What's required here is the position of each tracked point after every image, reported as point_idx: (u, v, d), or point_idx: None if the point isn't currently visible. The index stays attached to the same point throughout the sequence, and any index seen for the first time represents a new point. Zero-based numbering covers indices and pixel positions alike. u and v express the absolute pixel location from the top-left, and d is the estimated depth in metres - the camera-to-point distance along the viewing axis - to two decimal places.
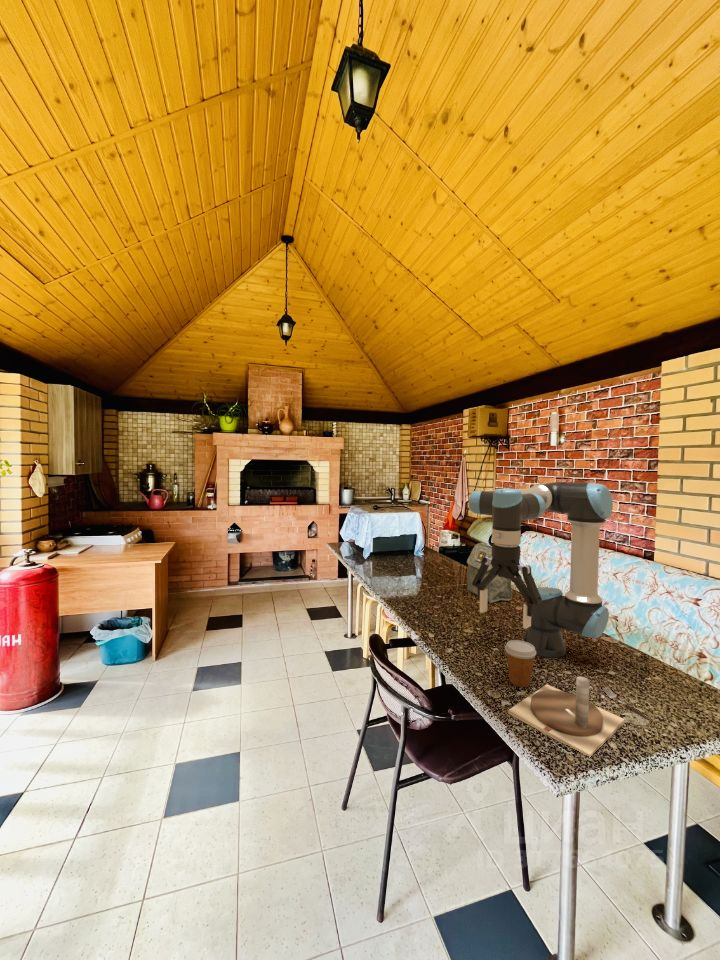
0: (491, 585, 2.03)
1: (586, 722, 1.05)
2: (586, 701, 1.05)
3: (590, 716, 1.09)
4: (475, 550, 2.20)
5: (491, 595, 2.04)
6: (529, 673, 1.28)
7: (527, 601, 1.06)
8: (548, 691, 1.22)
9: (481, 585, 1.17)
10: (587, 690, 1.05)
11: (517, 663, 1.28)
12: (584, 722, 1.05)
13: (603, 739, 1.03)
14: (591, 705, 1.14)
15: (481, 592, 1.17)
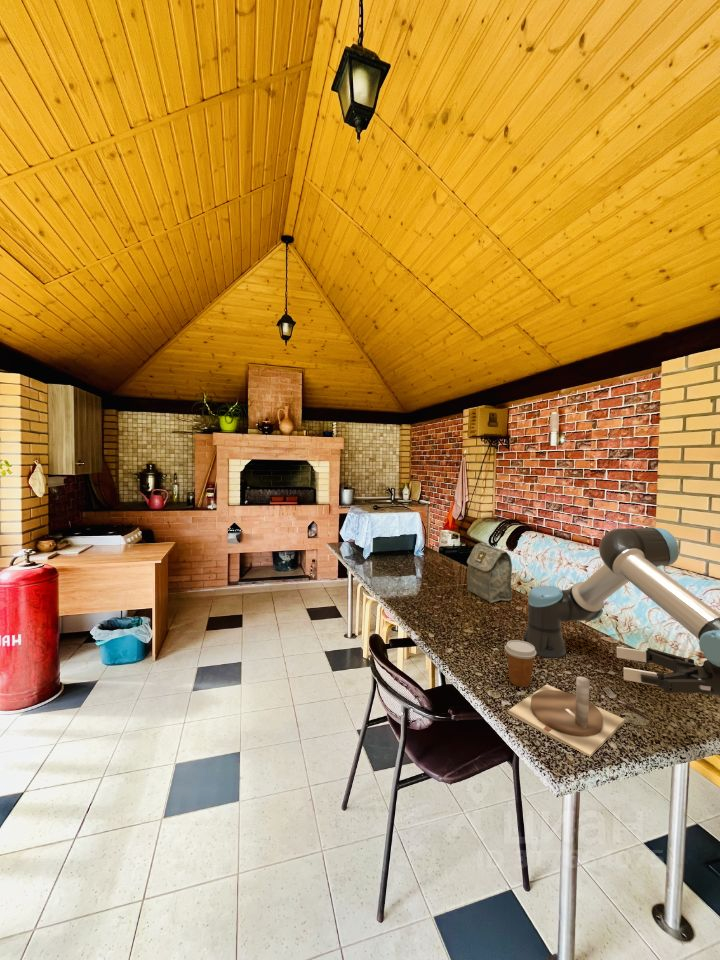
0: (491, 585, 2.03)
1: (586, 722, 1.05)
2: (586, 701, 1.05)
3: (590, 716, 1.09)
4: (475, 550, 2.20)
5: (491, 595, 2.04)
6: (529, 673, 1.28)
7: None
8: (548, 691, 1.22)
9: None
10: (587, 690, 1.05)
11: (517, 663, 1.28)
12: (584, 722, 1.05)
13: (603, 739, 1.03)
14: (591, 705, 1.14)
15: None
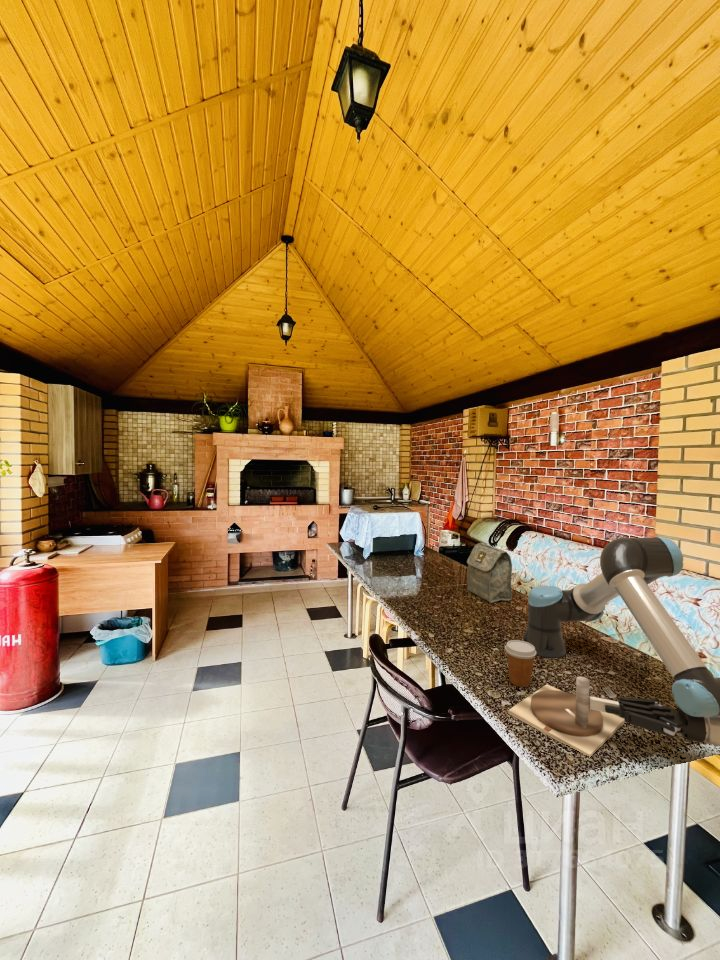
0: (491, 585, 2.03)
1: (586, 722, 1.05)
2: (586, 701, 1.05)
3: (590, 716, 1.09)
4: (475, 550, 2.20)
5: (491, 595, 2.04)
6: (529, 673, 1.28)
7: None
8: (548, 691, 1.22)
9: None
10: (587, 690, 1.05)
11: (517, 663, 1.28)
12: (584, 722, 1.05)
13: (603, 739, 1.03)
14: None
15: None
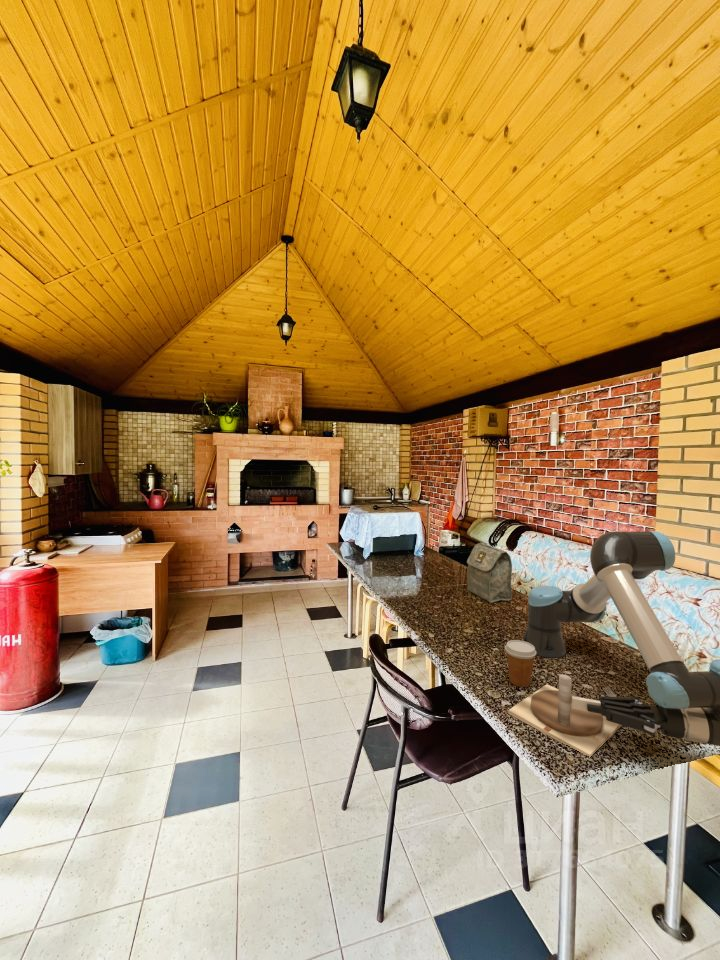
0: (491, 585, 2.03)
1: (564, 720, 1.06)
2: (564, 699, 1.06)
3: (582, 721, 1.07)
4: (475, 550, 2.20)
5: (491, 595, 2.04)
6: (529, 673, 1.28)
7: None
8: None
9: None
10: (565, 688, 1.06)
11: (517, 663, 1.28)
12: (562, 719, 1.06)
13: (603, 739, 1.03)
14: (599, 717, 1.09)
15: None
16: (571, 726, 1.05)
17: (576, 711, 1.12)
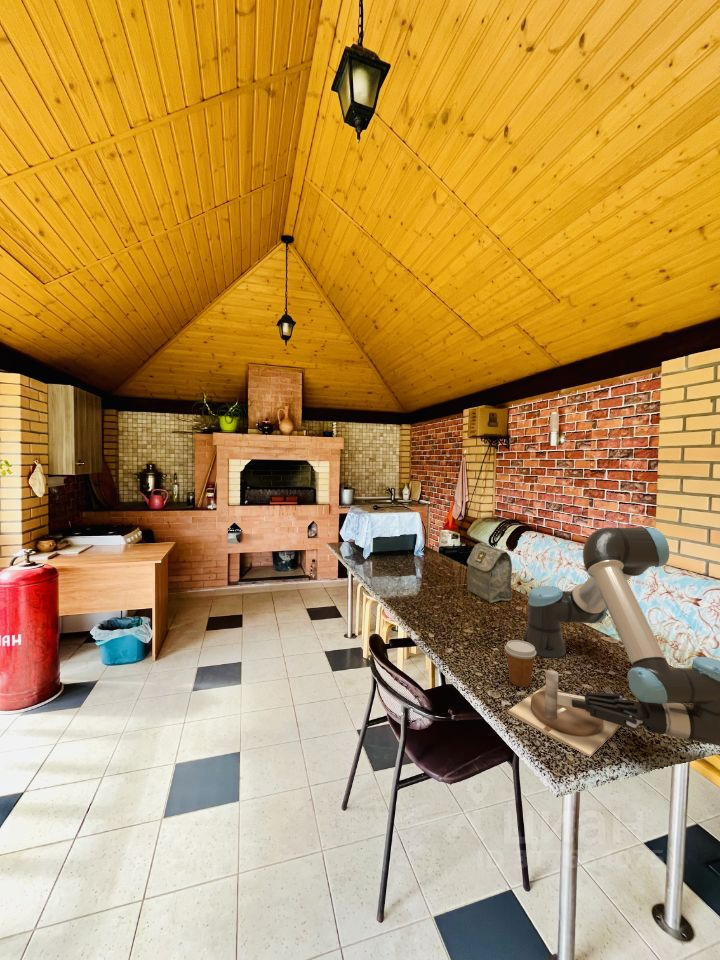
0: (491, 585, 2.03)
1: (548, 713, 1.09)
2: (547, 692, 1.09)
3: (570, 721, 1.07)
4: (475, 550, 2.20)
5: (491, 595, 2.04)
6: (529, 673, 1.28)
7: None
8: None
9: None
10: (549, 682, 1.08)
11: (517, 663, 1.28)
12: (546, 712, 1.09)
13: (603, 739, 1.03)
14: (595, 724, 1.06)
15: None
16: (554, 720, 1.08)
17: (574, 713, 1.11)
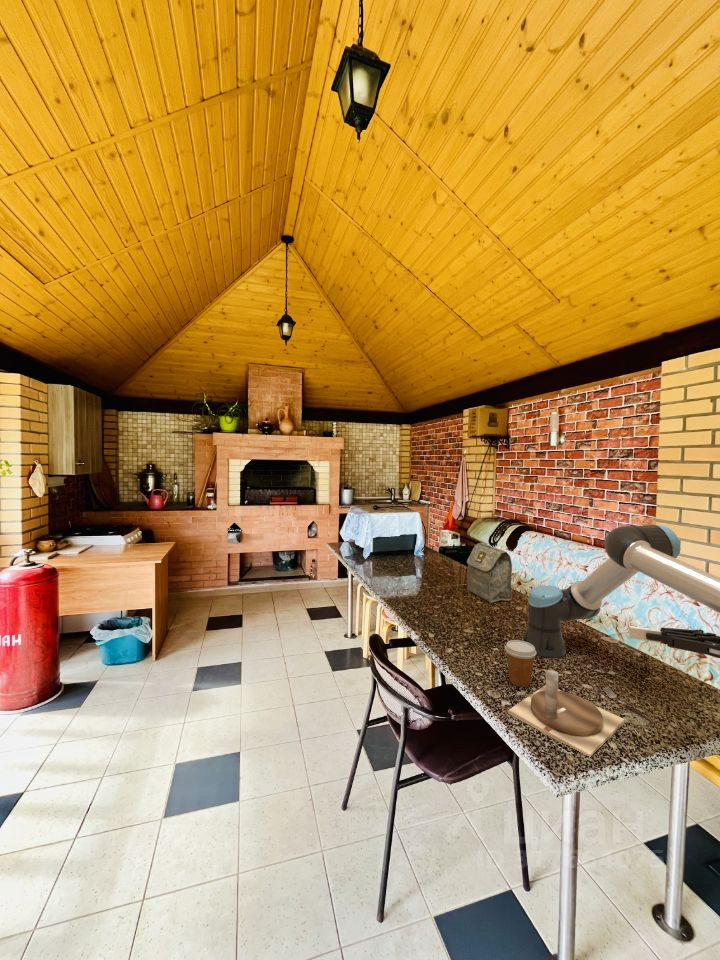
0: (491, 585, 2.03)
1: (548, 713, 1.09)
2: (547, 692, 1.09)
3: (570, 721, 1.07)
4: (475, 550, 2.20)
5: (491, 595, 2.04)
6: (529, 673, 1.28)
7: None
8: (584, 700, 1.17)
9: None
10: (549, 682, 1.08)
11: (517, 663, 1.28)
12: (546, 712, 1.09)
13: (603, 739, 1.03)
14: (595, 724, 1.06)
15: None
16: (554, 720, 1.08)
17: (574, 713, 1.11)
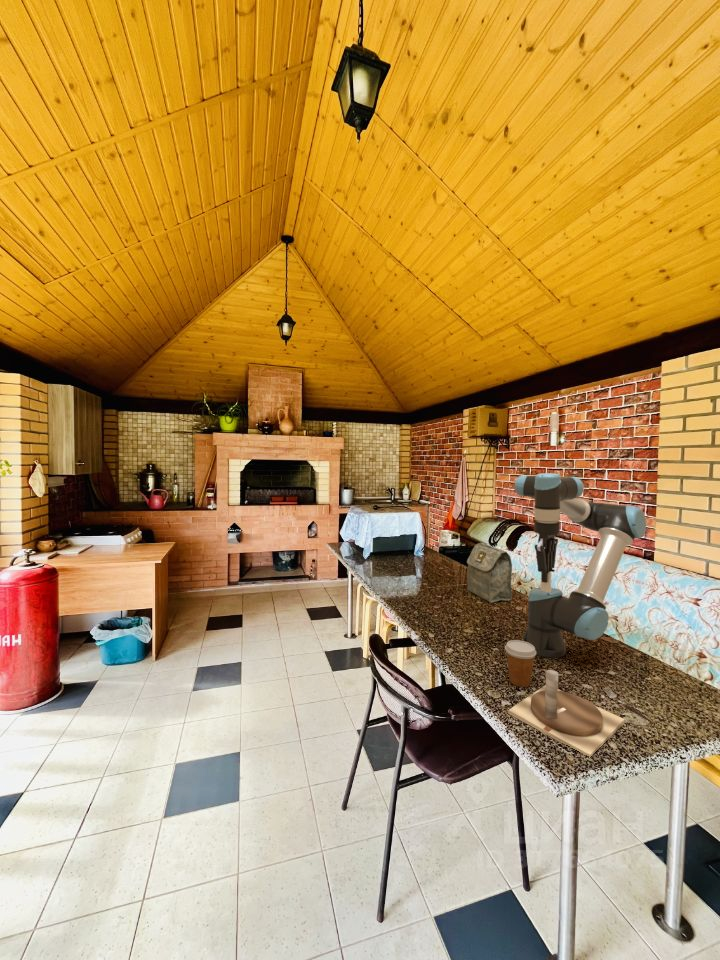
0: (491, 585, 2.03)
1: (548, 713, 1.09)
2: (547, 692, 1.09)
3: (570, 721, 1.07)
4: (475, 550, 2.20)
5: (491, 595, 2.04)
6: (529, 673, 1.28)
7: None
8: (584, 700, 1.17)
9: None
10: (549, 682, 1.08)
11: (517, 663, 1.28)
12: (546, 712, 1.09)
13: (603, 739, 1.03)
14: (595, 724, 1.06)
15: (542, 572, 1.34)
16: (554, 720, 1.08)
17: (574, 713, 1.11)
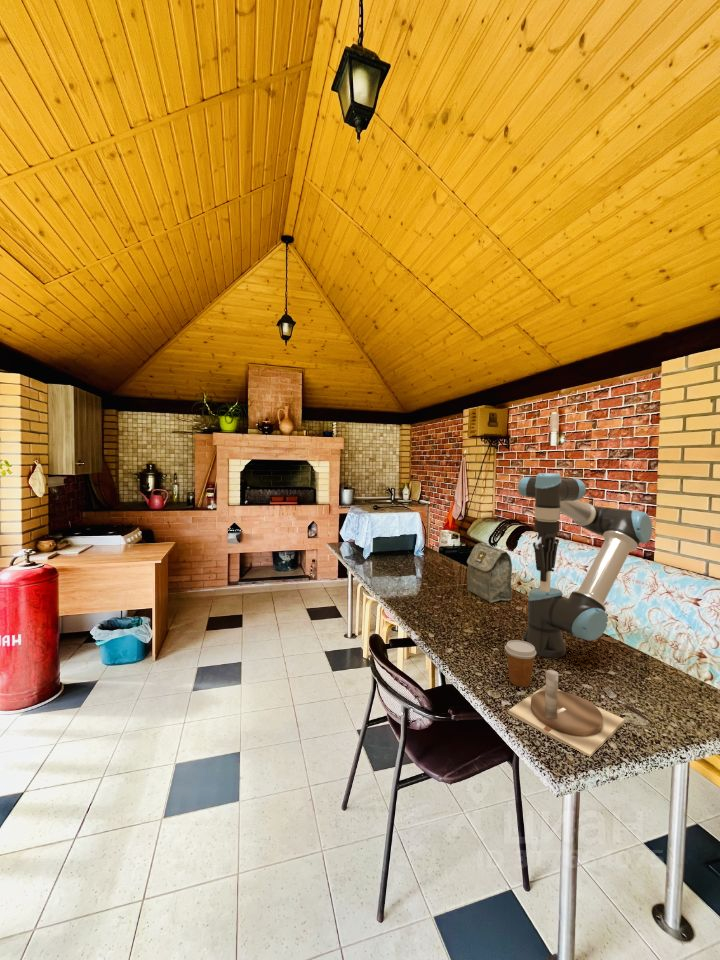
0: (491, 585, 2.03)
1: (548, 713, 1.09)
2: (547, 692, 1.09)
3: (570, 721, 1.07)
4: (475, 550, 2.20)
5: (491, 595, 2.04)
6: (529, 673, 1.28)
7: None
8: (584, 700, 1.17)
9: None
10: (549, 682, 1.08)
11: (517, 663, 1.28)
12: (546, 712, 1.09)
13: (603, 739, 1.03)
14: (595, 724, 1.06)
15: None
16: (554, 720, 1.08)
17: (574, 713, 1.11)
